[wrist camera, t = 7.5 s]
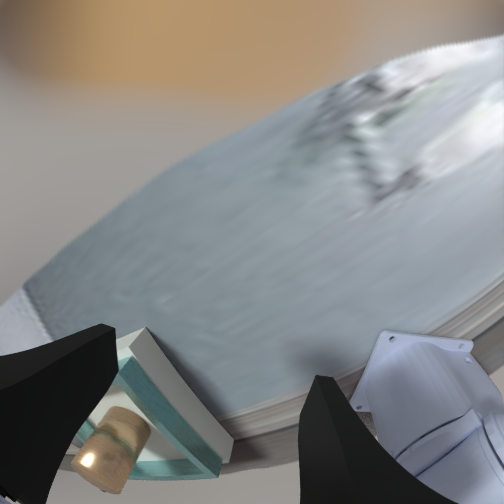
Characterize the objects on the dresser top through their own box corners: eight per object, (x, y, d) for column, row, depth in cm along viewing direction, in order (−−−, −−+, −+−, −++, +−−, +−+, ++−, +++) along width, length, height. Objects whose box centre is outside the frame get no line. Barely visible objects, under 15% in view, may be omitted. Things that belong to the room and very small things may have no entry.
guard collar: (132, 355, 19) (118, 373, 17) (222, 459, 21) (218, 477, 19) (52, 382, 22) (40, 394, 19) (129, 465, 24) (122, 478, 22)
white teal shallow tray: (145, 327, 21) (118, 358, 17) (234, 439, 24) (226, 475, 20) (43, 369, 25) (22, 390, 21) (115, 452, 28) (102, 475, 24)
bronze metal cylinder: (151, 419, 20) (117, 481, 14) (150, 451, 22) (124, 504, 15) (105, 399, 21) (65, 452, 14) (110, 433, 22) (79, 481, 16)
